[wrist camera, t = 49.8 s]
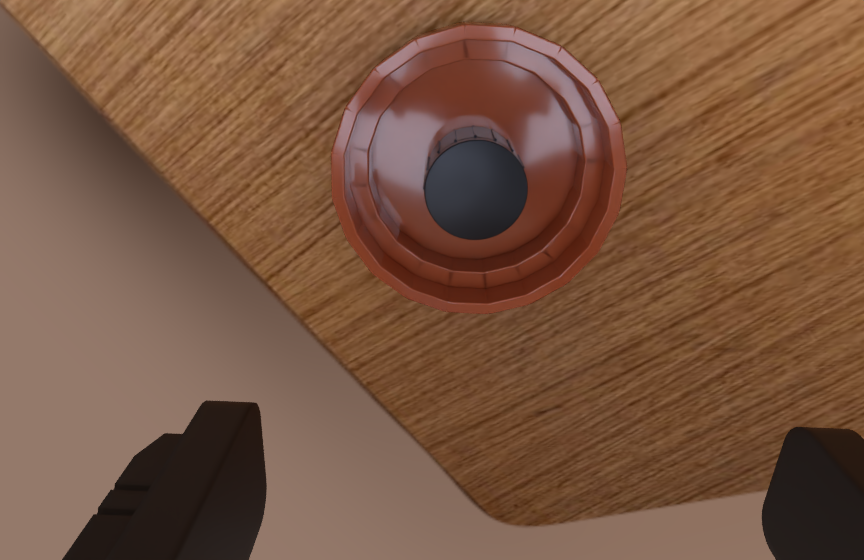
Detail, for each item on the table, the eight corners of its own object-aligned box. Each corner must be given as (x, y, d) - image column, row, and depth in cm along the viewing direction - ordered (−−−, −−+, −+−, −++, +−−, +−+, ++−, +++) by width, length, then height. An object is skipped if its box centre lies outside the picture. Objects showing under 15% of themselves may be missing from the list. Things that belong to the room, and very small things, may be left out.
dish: (582, 284, 29) (600, 320, 25) (346, 272, 29) (333, 306, 25) (624, 29, 24) (652, 33, 21) (343, 15, 24) (328, 16, 21)
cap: (527, 208, 27) (536, 230, 24) (436, 226, 27) (436, 250, 24) (512, 115, 25) (519, 128, 22) (415, 136, 25) (412, 151, 23)
